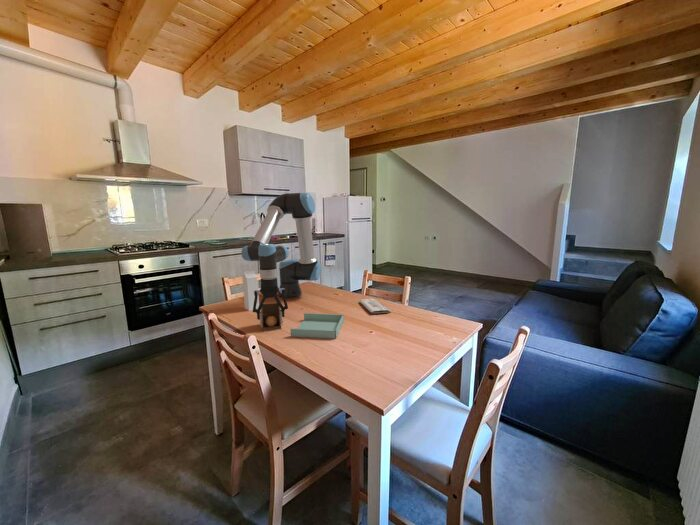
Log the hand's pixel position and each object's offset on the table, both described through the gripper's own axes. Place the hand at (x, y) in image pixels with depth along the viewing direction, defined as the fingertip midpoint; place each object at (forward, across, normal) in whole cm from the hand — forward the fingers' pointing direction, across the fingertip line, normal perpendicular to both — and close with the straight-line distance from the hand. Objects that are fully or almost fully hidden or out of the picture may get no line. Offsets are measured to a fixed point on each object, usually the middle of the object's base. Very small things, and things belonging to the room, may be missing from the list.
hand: (271, 324), depth 135 cm
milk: (+1, -10, +29) cm, 30 cm away
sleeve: (+1, 0, 0) cm, 1 cm away
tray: (+1, +21, -9) cm, 23 cm away
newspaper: (+2, +56, +11) cm, 57 cm away
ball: (-2, 0, 0) cm, 2 cm away
